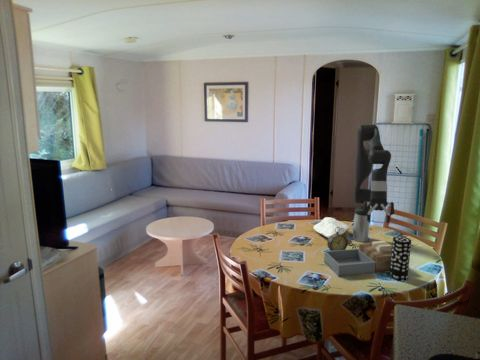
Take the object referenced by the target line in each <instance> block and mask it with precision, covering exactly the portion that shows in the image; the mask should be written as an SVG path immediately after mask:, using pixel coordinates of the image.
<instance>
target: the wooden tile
mask: <svg viewBox="0 0 480 360" xmlns="http://www.w3.org/2000/svg"><path fill="white" fill-rule="evenodd" d="M371 243H372V247H373V248H374V249H376V250H377V251H379V252H384V251H391V248H392V244H390V243H388V242H387V241H385V240H378V241H371Z"/></svg>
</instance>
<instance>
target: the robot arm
mask: <svg viewBox="0 0 480 360" xmlns="http://www.w3.org/2000/svg"><path fill="white" fill-rule="evenodd" d="M379 130H380V129H379V128H378V126H377V124H360V125H359V126H358V127H357V139H356V141H357V149H356V150H357V151H356V159H355V160H356V162H355V179H354V180H355V181H354V188H353V196H352V197H353V199H352V200H353V202H354V203H355V204H363V205H362V206H358V207H356V208H355V209H354V221H353V227H352V230H353V231H352V239H353V240H354V241H356V242H361V243H367V242H368V241H369V233H370V223H371V214H372V212H373V211H384V212H385V214H386V218H385V219H386V220H385V223H386V224H389V223H390V222H391V216H392V215H395V203H394V202H393V201H389V202H388V182H387V181H388V169H389V165H390V163H391V160H392V154H391V152H390V151H389V150H386V149H384V146H383V144H382V141H381V135H380V132H379ZM364 142H368V143H367V149H368V151H367V150H366V147H365V145H364ZM373 165H381V167H379V168H375V169H373ZM370 175H371V183H370V188H361V187H362V184H363V183H364V181H365V180H366V179H367V178H369V176H370ZM387 206H389V208H390V212H389V210H388V209H387Z"/></svg>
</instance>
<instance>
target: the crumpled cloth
mask: <svg viewBox="0 0 480 360" xmlns="http://www.w3.org/2000/svg"><path fill="white" fill-rule="evenodd" d="M312 227H313V230H314V231H315V232H317V233H318V234H320V235H323V236H324V237H326V238H327V239H329V237H330V236H331V235H333V234H336V233H337V232H338V234H341V235H344V234H345V232H347V231H349V230H350V229H351V227H350V226H349V225H348V224H346V223H345V222H342V221H339V220H337V219H336V218H334V217H328V216H326V217H324V218H323V219H322V220H321V221H319V222H318V223H316V224H314V225H313V226H312ZM337 227H339V228H340V229H339V228H337ZM335 229H336V232H335ZM339 230H340V231H339Z"/></svg>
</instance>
